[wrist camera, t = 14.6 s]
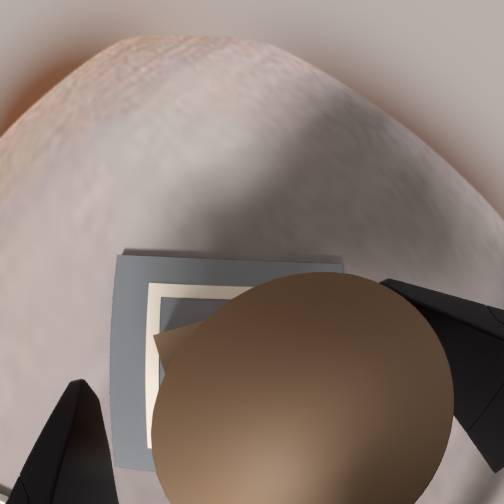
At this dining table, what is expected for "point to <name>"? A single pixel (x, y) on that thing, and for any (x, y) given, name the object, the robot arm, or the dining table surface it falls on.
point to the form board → (165, 319)
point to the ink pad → (3, 498)
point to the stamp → (303, 398)
